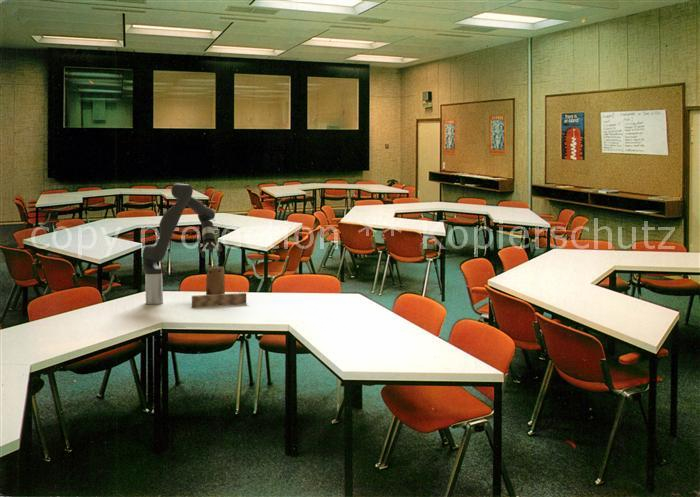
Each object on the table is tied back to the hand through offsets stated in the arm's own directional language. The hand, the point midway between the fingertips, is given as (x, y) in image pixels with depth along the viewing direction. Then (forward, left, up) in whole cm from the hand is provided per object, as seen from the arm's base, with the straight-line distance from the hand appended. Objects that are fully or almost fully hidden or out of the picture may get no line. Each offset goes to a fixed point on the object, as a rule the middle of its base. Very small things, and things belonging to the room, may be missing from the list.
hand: (211, 256), depth 359 cm
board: (0, -32, -24) cm, 40 cm away
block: (0, -18, -24) cm, 30 cm away
